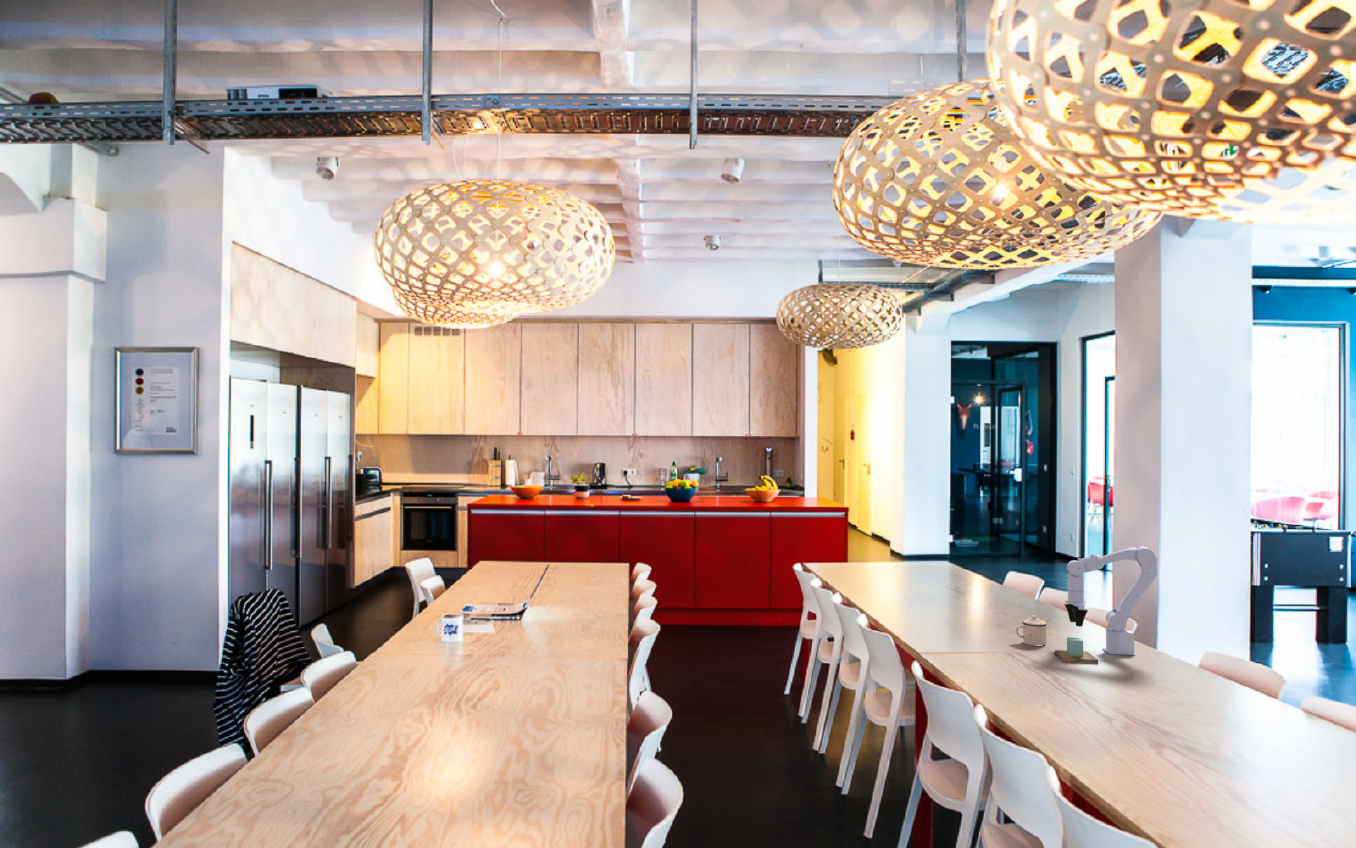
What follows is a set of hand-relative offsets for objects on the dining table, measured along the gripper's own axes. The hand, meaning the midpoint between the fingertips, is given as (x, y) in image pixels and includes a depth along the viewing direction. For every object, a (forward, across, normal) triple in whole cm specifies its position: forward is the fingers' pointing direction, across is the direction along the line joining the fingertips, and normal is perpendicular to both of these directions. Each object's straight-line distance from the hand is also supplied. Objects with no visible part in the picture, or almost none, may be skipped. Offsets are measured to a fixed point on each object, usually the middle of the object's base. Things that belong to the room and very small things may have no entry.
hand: (1076, 624), depth 318 cm
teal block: (+8, +16, -5) cm, 19 cm away
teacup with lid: (+10, -5, -16) cm, 20 cm away
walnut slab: (+10, +16, -5) cm, 19 cm away
